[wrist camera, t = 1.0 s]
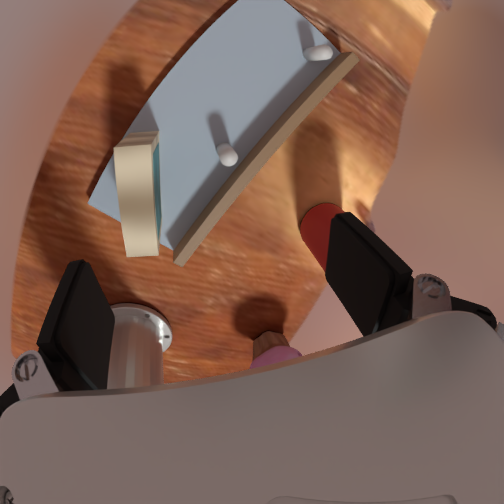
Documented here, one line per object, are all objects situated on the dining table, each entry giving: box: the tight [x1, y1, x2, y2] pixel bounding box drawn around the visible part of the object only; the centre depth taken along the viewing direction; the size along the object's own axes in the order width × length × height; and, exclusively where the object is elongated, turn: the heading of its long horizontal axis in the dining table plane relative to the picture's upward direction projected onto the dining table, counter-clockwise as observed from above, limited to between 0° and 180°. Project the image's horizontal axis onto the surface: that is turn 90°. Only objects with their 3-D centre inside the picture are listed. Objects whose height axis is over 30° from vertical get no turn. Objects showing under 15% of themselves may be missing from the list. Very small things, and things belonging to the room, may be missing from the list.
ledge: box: [88, 0, 360, 267], centre depth 24 cm, size 30×14×4 cm, turn 140°
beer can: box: [300, 203, 345, 271], centre depth 31 cm, size 7×7×12 cm
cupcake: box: [250, 331, 302, 369], centre depth 43 cm, size 9×9×10 cm
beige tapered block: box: [114, 131, 162, 257], centre depth 24 cm, size 10×3×7 cm, turn 175°
